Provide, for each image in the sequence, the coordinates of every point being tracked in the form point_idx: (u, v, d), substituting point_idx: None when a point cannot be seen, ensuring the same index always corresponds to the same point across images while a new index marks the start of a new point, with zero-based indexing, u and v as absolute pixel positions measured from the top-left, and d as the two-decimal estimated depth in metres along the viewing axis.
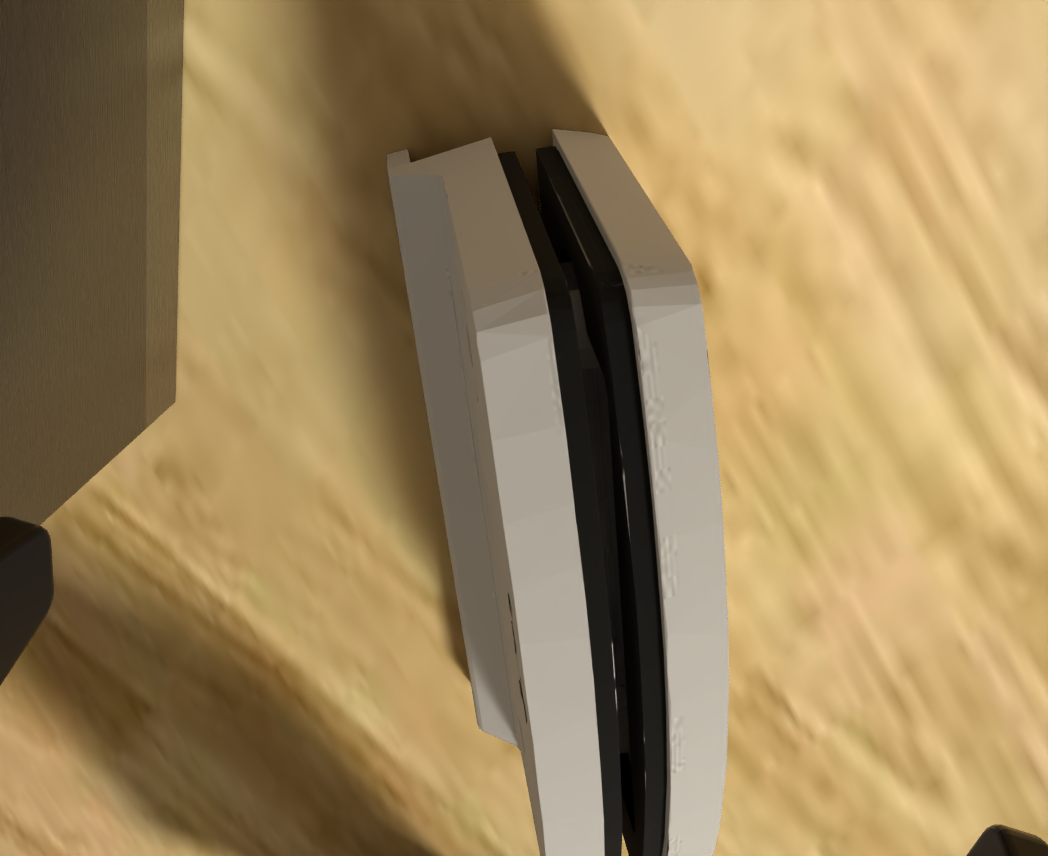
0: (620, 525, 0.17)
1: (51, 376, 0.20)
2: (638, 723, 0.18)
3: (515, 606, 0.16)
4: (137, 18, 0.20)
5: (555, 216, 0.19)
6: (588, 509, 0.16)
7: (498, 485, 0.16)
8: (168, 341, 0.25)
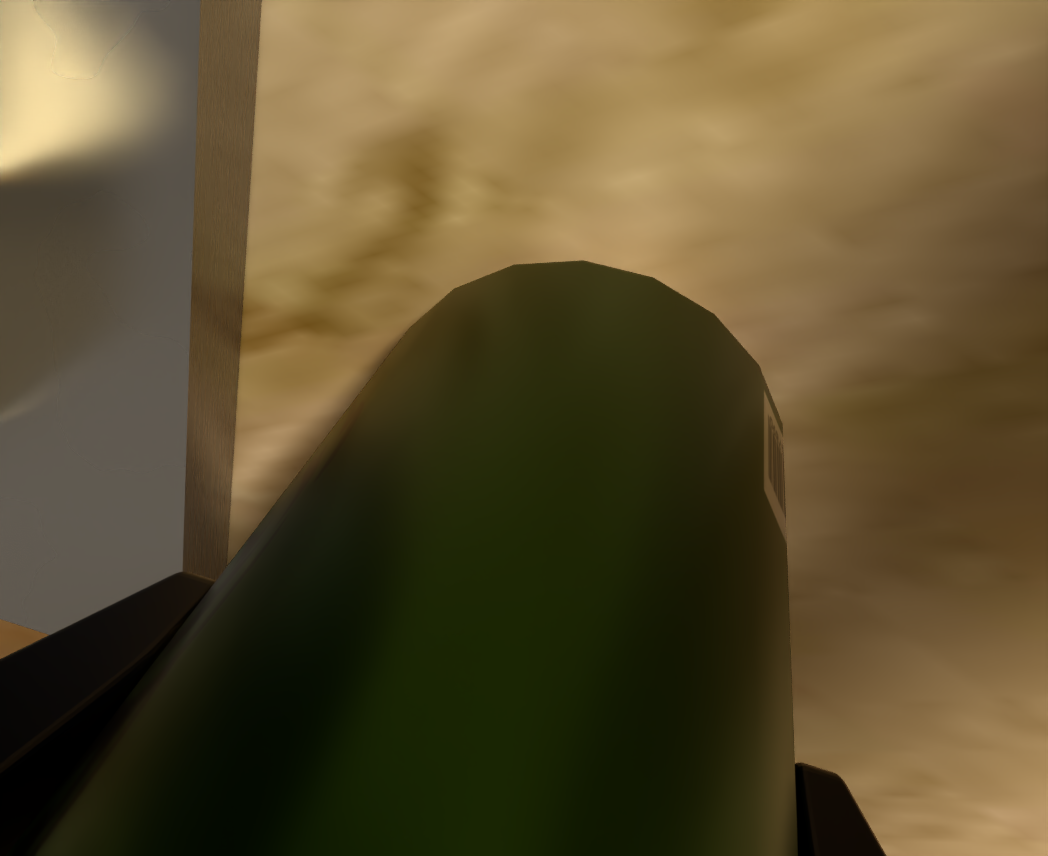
0: None
1: None
2: None
3: None
4: None
5: None
6: None
7: None
8: None
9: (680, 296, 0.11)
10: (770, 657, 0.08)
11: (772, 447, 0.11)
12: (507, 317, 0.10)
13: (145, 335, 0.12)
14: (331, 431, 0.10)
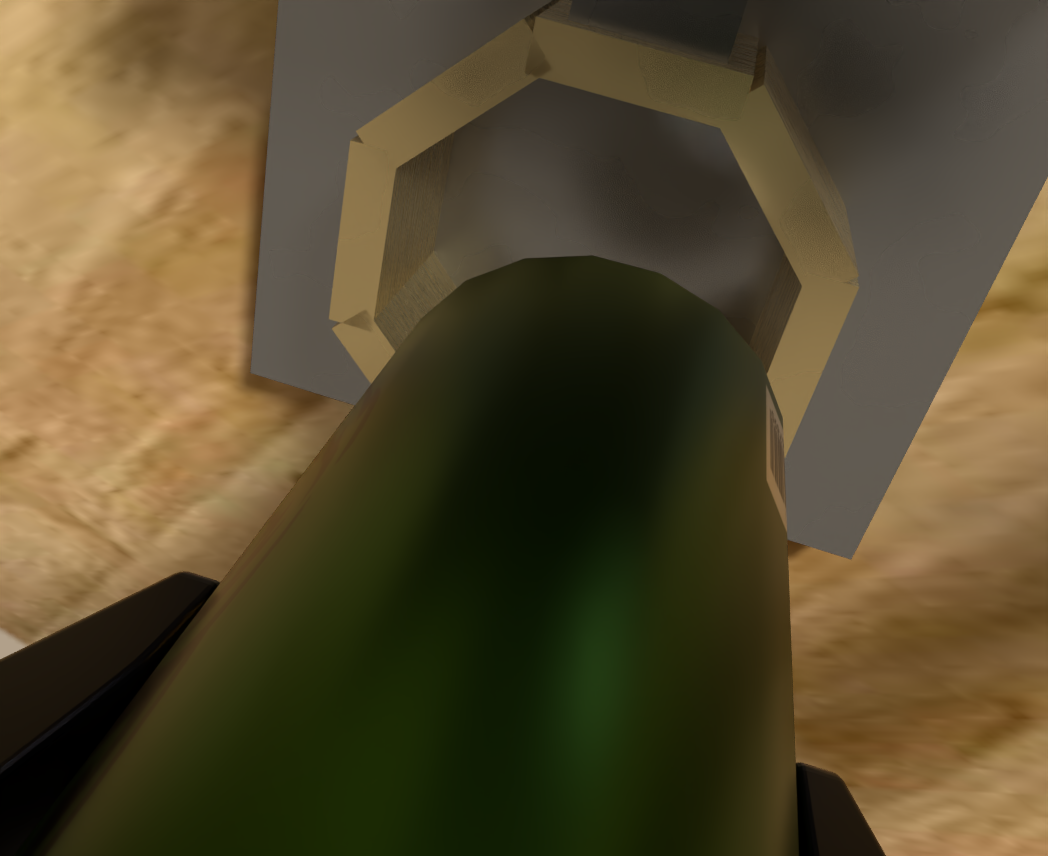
0: None
1: None
2: None
3: None
4: None
5: None
6: None
7: None
8: None
9: (686, 292, 0.12)
10: (773, 637, 0.08)
11: (773, 440, 0.11)
12: (521, 308, 0.11)
13: (942, 310, 0.18)
14: (347, 416, 0.10)
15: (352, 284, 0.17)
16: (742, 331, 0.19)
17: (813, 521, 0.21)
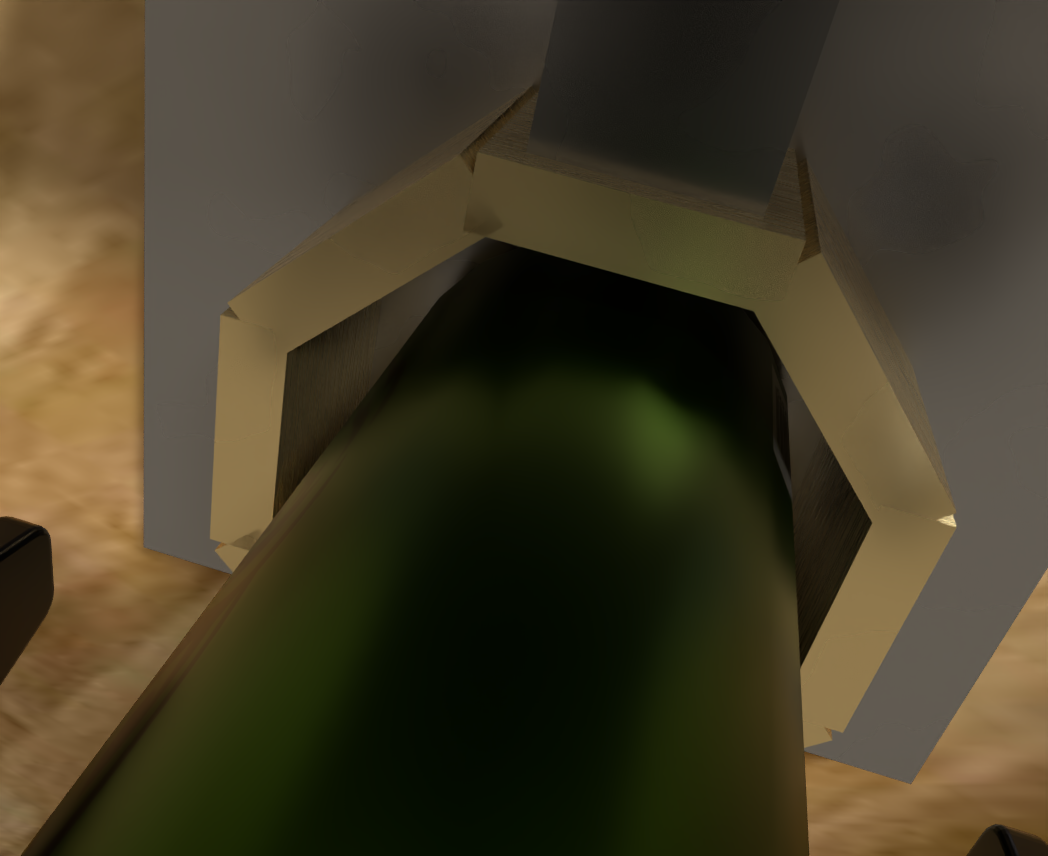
0: None
1: None
2: None
3: None
4: None
5: None
6: None
7: None
8: None
9: None
10: (781, 593, 0.09)
11: (779, 415, 0.12)
12: (539, 285, 0.11)
13: (1041, 497, 0.14)
14: (373, 386, 0.11)
15: (237, 498, 0.12)
16: None
17: (862, 739, 0.16)
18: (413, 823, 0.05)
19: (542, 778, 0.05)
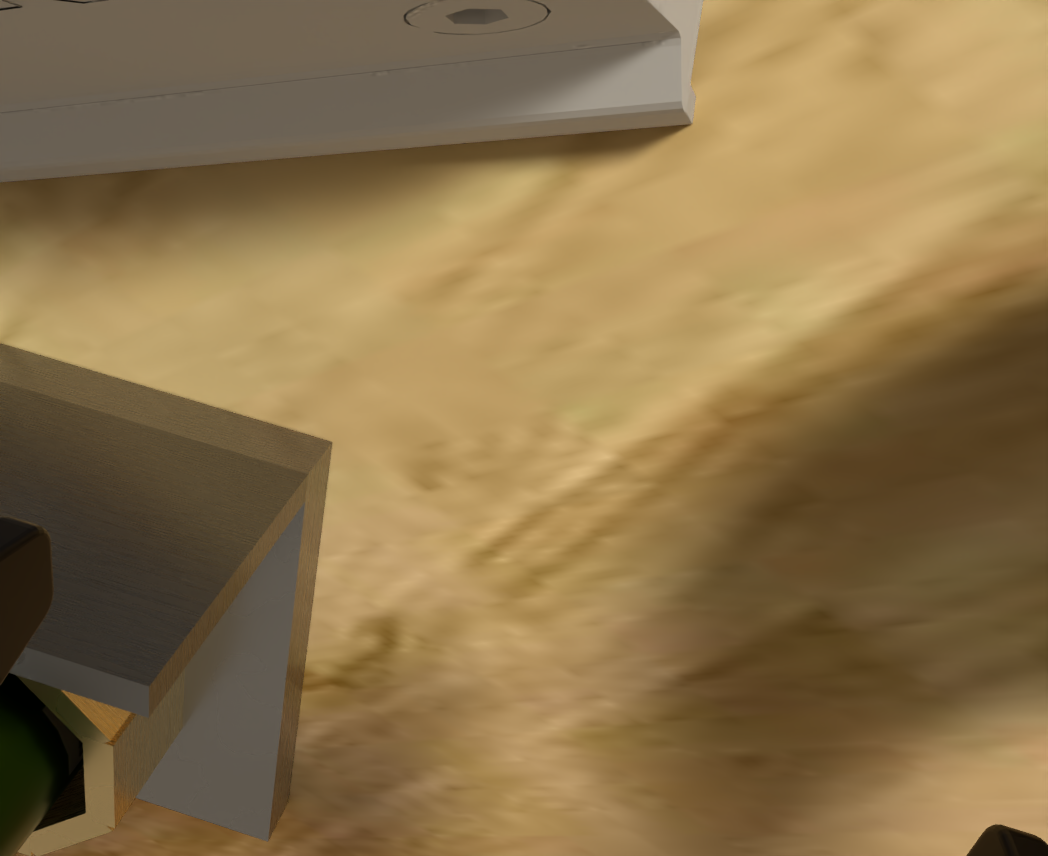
0: None
1: (76, 521, 0.20)
2: None
3: None
4: None
5: None
6: None
7: None
8: (245, 426, 0.24)
9: None
10: None
11: None
12: None
13: (262, 703, 0.27)
14: None
15: None
16: None
17: (236, 817, 0.30)
18: None
19: None
